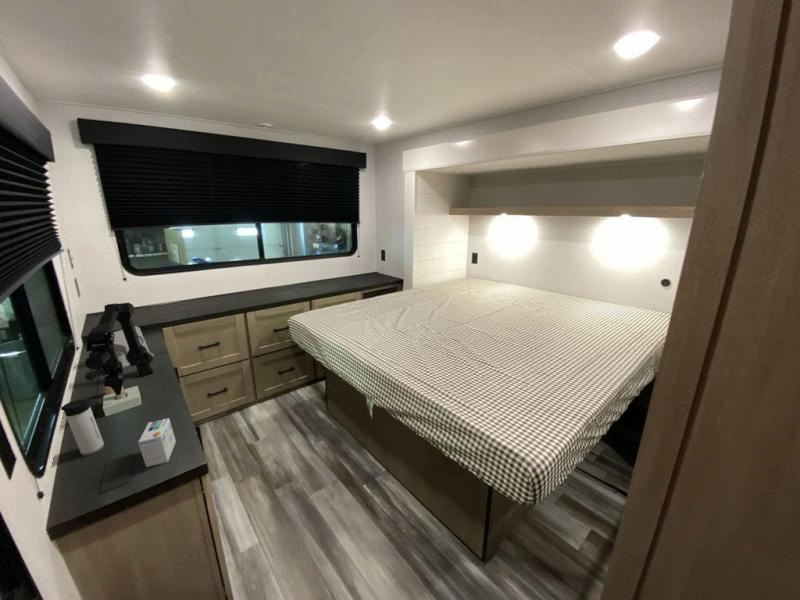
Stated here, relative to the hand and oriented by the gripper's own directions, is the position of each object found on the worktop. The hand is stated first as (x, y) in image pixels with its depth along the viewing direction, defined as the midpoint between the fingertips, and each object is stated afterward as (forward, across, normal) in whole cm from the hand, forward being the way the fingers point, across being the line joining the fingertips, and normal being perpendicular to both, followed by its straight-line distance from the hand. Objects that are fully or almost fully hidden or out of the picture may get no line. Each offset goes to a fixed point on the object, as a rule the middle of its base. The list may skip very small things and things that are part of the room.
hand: (118, 390), depth 142 cm
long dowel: (+7, 0, 0) cm, 7 cm away
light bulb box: (+8, +48, +10) cm, 49 cm away
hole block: (+7, 0, 0) cm, 7 cm away
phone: (+8, +48, -2) cm, 49 cm away
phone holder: (+8, -50, +6) cm, 51 cm away
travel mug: (+8, +28, -10) cm, 30 cm away
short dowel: (+7, -14, -4) cm, 17 cm away
